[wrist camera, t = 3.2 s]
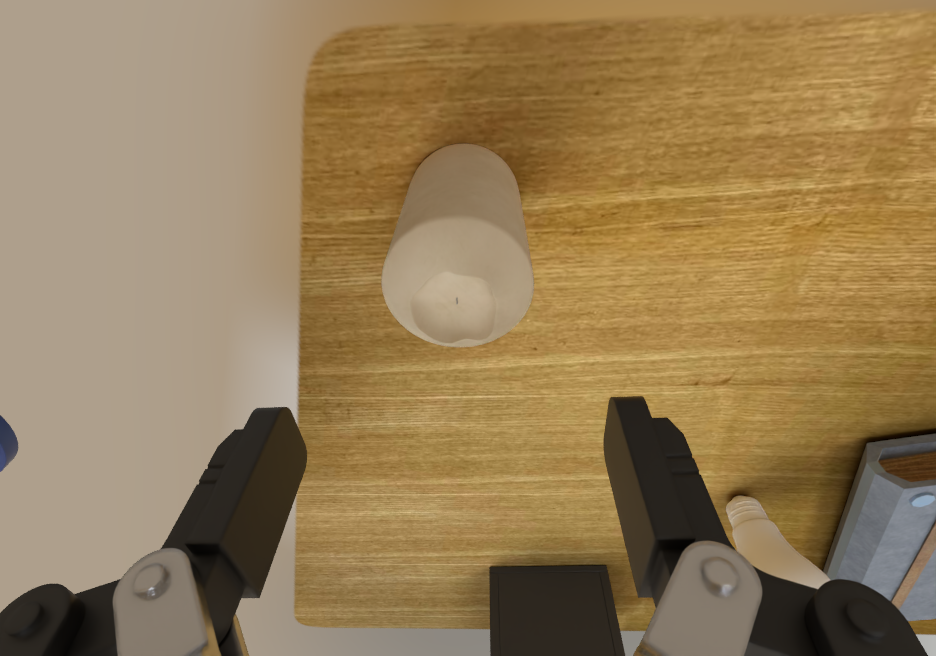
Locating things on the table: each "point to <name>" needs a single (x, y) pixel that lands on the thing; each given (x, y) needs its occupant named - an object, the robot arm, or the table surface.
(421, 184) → the candle
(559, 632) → the bin
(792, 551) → the lightbulb
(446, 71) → the table surface
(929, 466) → the book
